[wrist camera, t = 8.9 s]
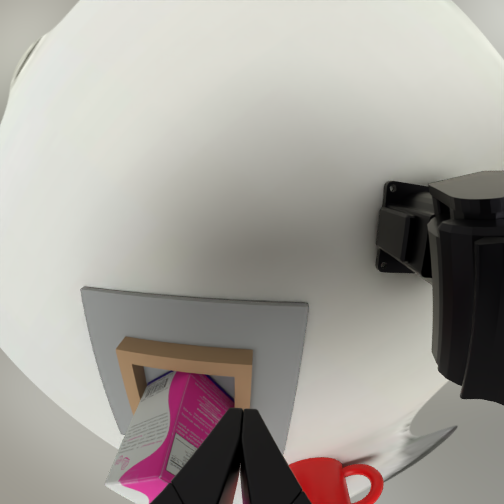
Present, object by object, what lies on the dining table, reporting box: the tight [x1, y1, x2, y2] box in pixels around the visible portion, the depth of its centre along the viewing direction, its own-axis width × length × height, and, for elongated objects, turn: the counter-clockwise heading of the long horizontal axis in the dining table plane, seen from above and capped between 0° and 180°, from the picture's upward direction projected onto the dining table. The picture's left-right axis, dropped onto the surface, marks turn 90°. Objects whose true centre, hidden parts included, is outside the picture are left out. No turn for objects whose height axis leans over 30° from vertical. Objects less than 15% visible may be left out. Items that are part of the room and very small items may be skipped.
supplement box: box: [105, 370, 235, 504], centre depth 17 cm, size 6×6×11 cm
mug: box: [289, 457, 383, 504], centre depth 23 cm, size 8×12×8 cm, turn 112°
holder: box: [80, 287, 309, 455], centre depth 22 cm, size 18×18×3 cm
